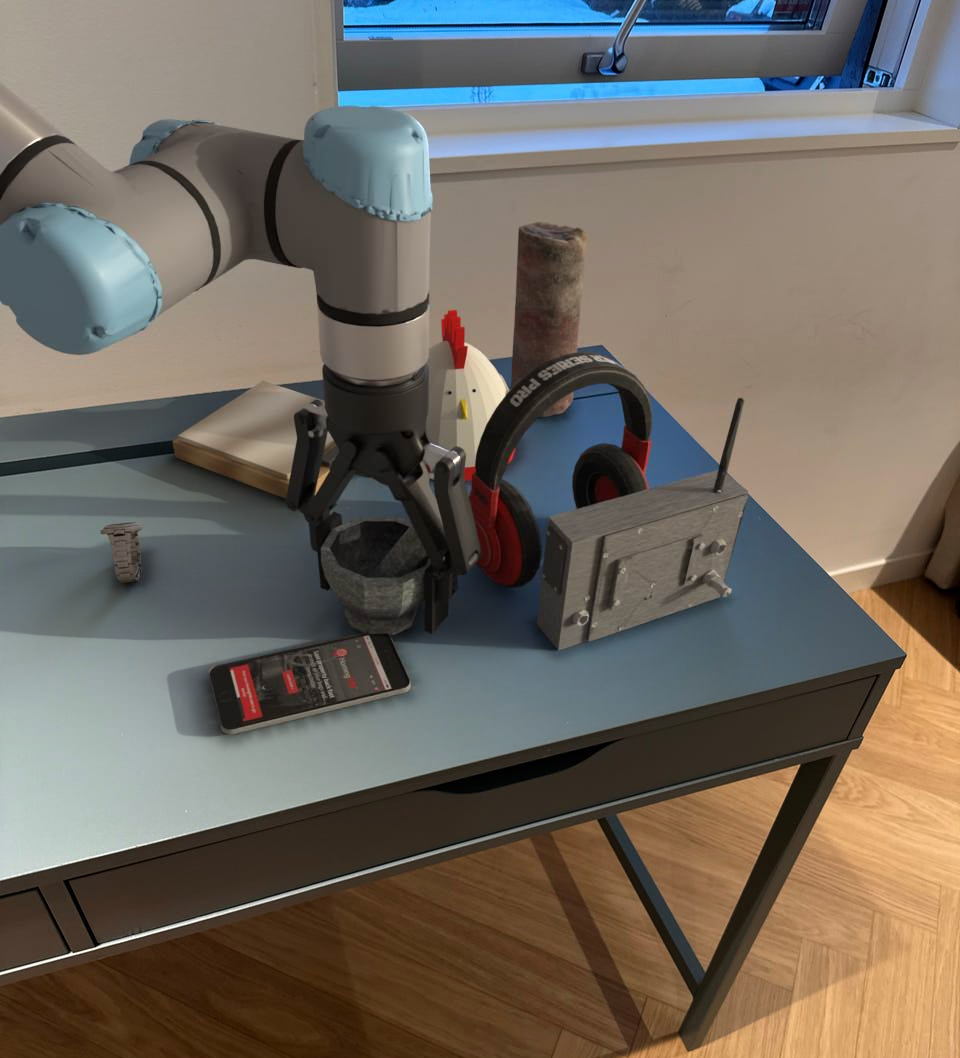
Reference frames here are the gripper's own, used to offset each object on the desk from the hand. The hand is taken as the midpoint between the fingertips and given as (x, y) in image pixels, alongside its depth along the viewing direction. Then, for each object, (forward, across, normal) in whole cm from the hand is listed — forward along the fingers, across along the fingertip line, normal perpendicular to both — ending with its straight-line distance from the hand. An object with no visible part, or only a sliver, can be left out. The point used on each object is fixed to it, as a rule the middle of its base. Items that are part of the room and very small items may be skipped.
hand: (383, 601), depth 81 cm
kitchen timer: (+2, +9, -27) cm, 28 cm away
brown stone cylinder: (+2, +5, -41) cm, 41 cm away
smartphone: (+1, 0, +10) cm, 10 cm away
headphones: (+2, -9, -15) cm, 18 cm away
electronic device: (+1, -19, -11) cm, 22 cm away
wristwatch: (+2, +23, +7) cm, 24 cm away
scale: (+2, +24, -17) cm, 29 cm away
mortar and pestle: (+1, 0, 0) cm, 1 cm away
